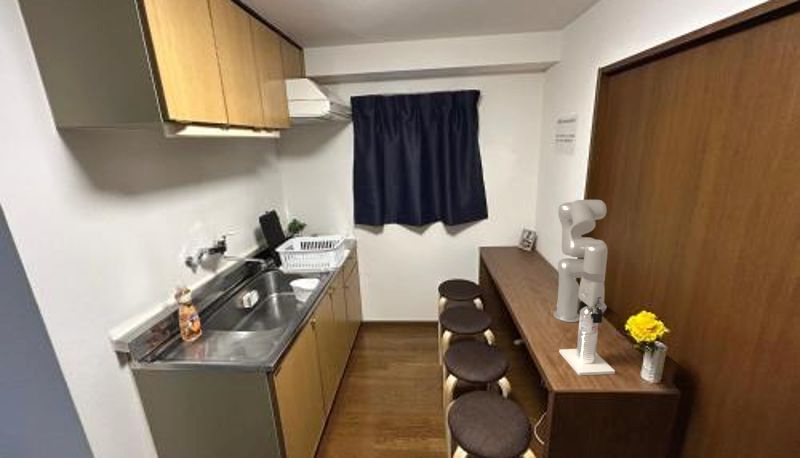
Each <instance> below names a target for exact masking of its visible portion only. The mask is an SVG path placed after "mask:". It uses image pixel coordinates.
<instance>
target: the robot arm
mask: <svg viewBox="0 0 800 458" xmlns="http://www.w3.org/2000/svg"><path fill="white" fill-rule="evenodd" d="M607 211H608V210H607V205H606V203H605V202H604V201H603V200H601V199H577V200H574V201H573V202H563V203H560V205H559V206H558V218H559V222H560V225H561V251H562V253H563V254H564V255H566V256H570V258H569V257H568V258H567V257H566V258H562V259H560V260H559V262H558V265H557V271H558V290H557V291H558V292H557V303H556V304H555V307H557V308H556V310H554V311H553V315H552V316H553V317H554V318H555V319H557V320H559V321H562V322H567V323H576V322H579V320H580V313H578V312H580V310H581V309H582V308H583V307H585V306H587V305H588V306H589V307H593V309H594V312H595V313H593V323H598V324H601V323H602V321H603V315H604V313H606V310H607V307H608V306H607V305H606V303H605V290H606V289H605V280H606V272H607V260H608V245H607V244H606V242H605V241H604V240H602V239H595V238H593V237H586V236H585V237H582V236H583V235H586V234H588V233H590V232H592V231H593V230H594V229H595V228H596V221H597V220H602V219H604V218H605V217H606V215H607ZM571 257H572V258H571ZM576 279H580V283H579V282H578V281H577V280H576Z"/></svg>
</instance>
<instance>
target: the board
mask: <svg viewBox="0 0 800 458" xmlns="http://www.w3.org/2000/svg"><path fill="white" fill-rule="evenodd" d="M576 351H577V348H564V349H563V348H562V349H560V348H559V351H558V352H559V354H560V355H561V356H562V358H564V360H565V361H566V362H567V363H568V365H570V367H571V368H572V369H573V370H574V372H575V373H576V374H577V375H578V376H597V375H615V374H616V370H615V369H614V368H613V367H612V366H610V365H609V364H608V362H607V361H606V360H605V359H603V357H601V356H600V355H599V354H598V353H597V352H596V355H595V361H594V362H593V363H583V362H581V361H579V360H578V359H577V357H576Z"/></svg>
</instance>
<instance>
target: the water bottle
mask: <svg viewBox="0 0 800 458" xmlns="http://www.w3.org/2000/svg"><path fill="white" fill-rule="evenodd" d="M593 313H595V312H594V309H593V307H589V306H588V305H587V306H585V307H583V308H582V309H581V310H580V311H579V315H580V320H579V321H578V322H579V323H578V331H577V343H576V349H577V351H576V357H577V359H578V360H579V361H581V362H583V363H593V362H594V361H595V355H596V353H597V344H598V343H597V342H598V333H599V332H598V331H599V330H598V329H599V323H593Z"/></svg>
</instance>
